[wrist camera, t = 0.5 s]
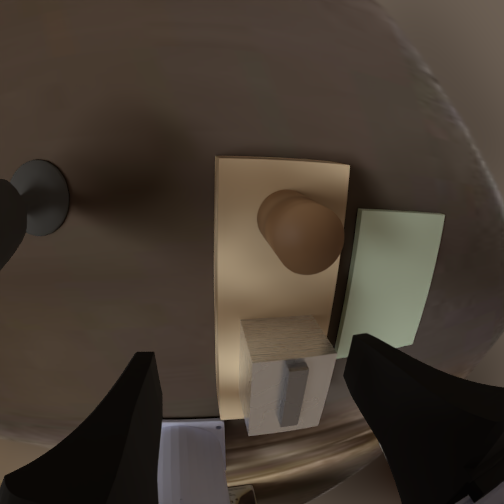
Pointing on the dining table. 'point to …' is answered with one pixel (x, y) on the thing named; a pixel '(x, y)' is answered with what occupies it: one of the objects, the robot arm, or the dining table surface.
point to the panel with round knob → (272, 250)
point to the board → (389, 275)
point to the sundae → (31, 205)
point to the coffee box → (242, 495)
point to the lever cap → (283, 373)
